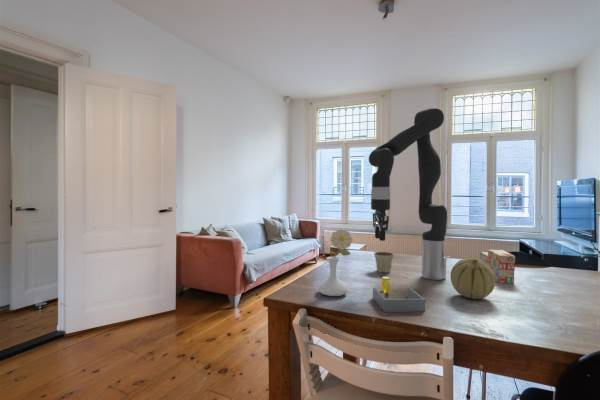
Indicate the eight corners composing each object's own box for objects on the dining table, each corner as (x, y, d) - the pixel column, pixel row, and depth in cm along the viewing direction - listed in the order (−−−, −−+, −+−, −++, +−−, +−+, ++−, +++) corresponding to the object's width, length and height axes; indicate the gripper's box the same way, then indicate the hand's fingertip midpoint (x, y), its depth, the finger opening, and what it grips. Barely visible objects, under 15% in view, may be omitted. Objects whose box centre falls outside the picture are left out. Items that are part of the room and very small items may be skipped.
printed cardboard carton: (479, 270, 153) (480, 245, 152) (493, 271, 152) (494, 246, 151) (498, 283, 132) (498, 254, 131) (514, 284, 131) (515, 255, 130)
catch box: (409, 297, 114) (409, 286, 114) (425, 311, 101) (425, 299, 101) (372, 298, 113) (373, 287, 113) (384, 312, 100) (384, 300, 100)
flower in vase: (313, 296, 115) (314, 229, 114) (323, 287, 125) (323, 226, 124) (348, 301, 110) (349, 231, 109) (355, 291, 120) (355, 227, 119)
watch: (380, 290, 122) (379, 275, 123) (386, 290, 122) (386, 275, 123) (384, 295, 116) (384, 279, 117) (391, 294, 116) (391, 279, 117)
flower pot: (370, 271, 149) (370, 254, 148) (377, 267, 156) (377, 250, 156) (389, 275, 143) (390, 256, 143) (396, 270, 151) (396, 253, 151)
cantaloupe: (474, 290, 123) (475, 252, 122) (505, 303, 108) (506, 261, 108) (441, 292, 120) (441, 253, 120) (467, 306, 106) (468, 263, 105)
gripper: (395, 198, 119) (395, 242, 120) (383, 197, 133) (383, 236, 134) (376, 198, 119) (376, 242, 119) (366, 197, 133) (366, 236, 134)
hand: (379, 239), depth 127 cm, fingers open, 5 cm apart
